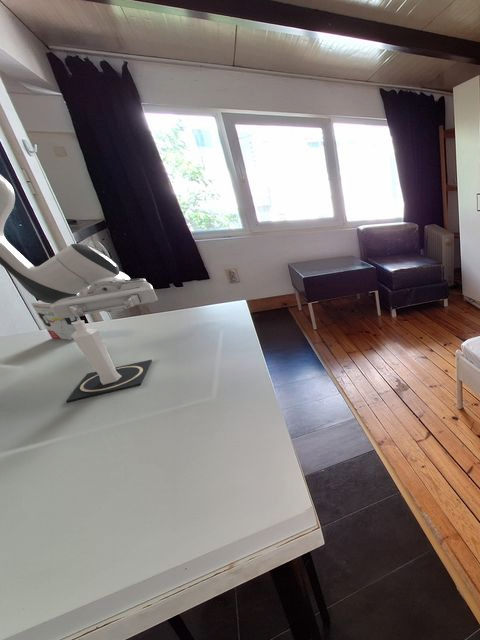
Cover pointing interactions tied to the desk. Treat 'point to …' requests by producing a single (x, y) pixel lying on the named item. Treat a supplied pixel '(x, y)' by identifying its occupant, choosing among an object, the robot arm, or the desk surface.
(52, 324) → the ink box
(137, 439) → the desk surface
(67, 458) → the desk surface
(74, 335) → the perfume bottle
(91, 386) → the circle mat
